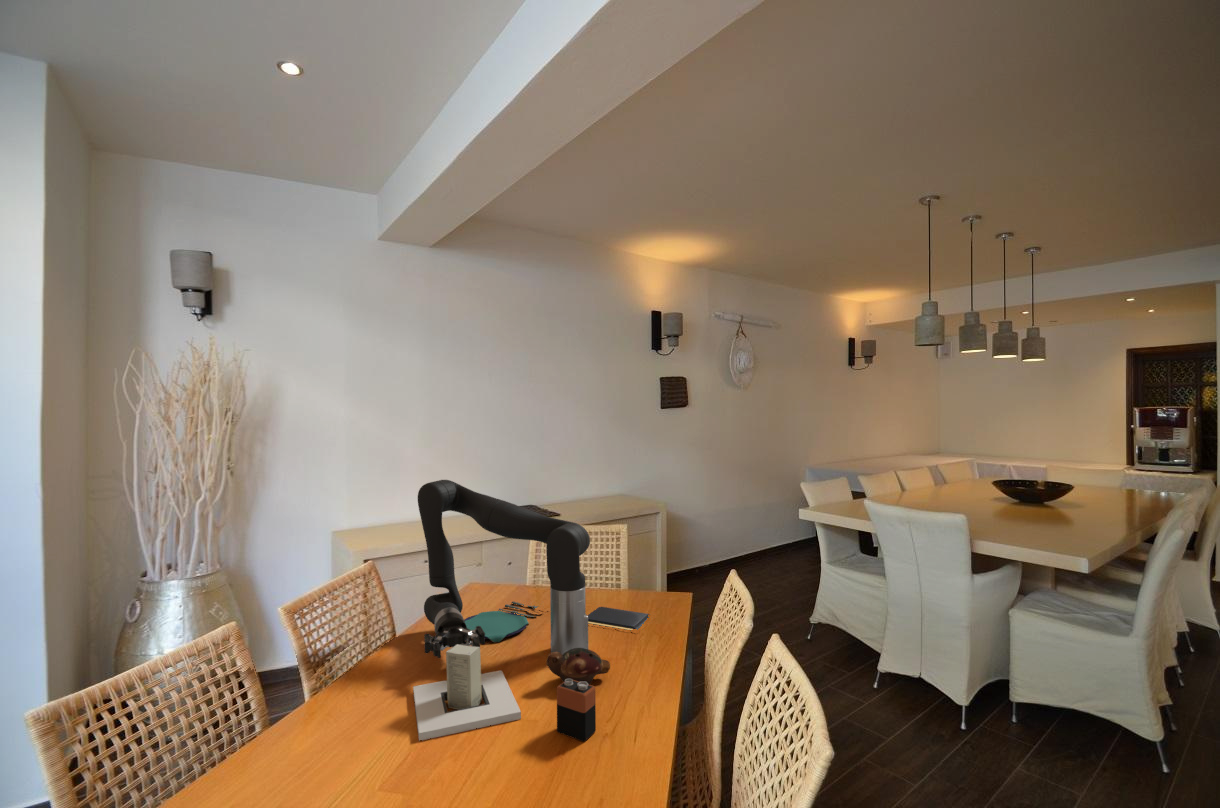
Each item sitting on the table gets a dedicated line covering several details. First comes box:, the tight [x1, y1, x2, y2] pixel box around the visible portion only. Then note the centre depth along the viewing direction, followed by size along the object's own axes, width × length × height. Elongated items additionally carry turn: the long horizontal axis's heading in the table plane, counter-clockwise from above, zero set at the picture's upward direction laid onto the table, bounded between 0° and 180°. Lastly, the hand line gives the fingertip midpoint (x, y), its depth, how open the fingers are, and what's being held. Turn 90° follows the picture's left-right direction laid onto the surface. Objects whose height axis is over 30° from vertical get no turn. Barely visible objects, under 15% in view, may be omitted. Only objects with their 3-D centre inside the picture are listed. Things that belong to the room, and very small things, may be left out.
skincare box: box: [445, 644, 483, 710], centre depth 122 cm, size 6×4×12 cm
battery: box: [556, 679, 597, 742], centre depth 112 cm, size 4×7×10 cm, turn 59°
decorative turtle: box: [546, 648, 611, 685], centre depth 132 cm, size 10×15×8 cm, turn 112°
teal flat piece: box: [463, 601, 539, 644], centre depth 169 cm, size 20×30×2 cm, turn 152°
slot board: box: [412, 670, 522, 742], centre depth 122 cm, size 20×20×2 cm
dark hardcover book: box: [586, 606, 650, 631], centre depth 171 cm, size 20×2×15 cm
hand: (458, 650), depth 132 cm, fingers open, 8 cm apart
